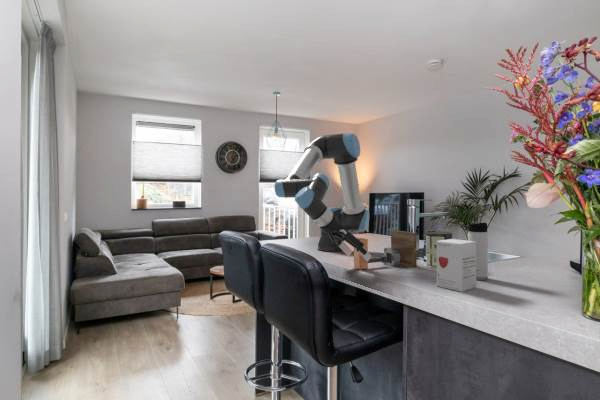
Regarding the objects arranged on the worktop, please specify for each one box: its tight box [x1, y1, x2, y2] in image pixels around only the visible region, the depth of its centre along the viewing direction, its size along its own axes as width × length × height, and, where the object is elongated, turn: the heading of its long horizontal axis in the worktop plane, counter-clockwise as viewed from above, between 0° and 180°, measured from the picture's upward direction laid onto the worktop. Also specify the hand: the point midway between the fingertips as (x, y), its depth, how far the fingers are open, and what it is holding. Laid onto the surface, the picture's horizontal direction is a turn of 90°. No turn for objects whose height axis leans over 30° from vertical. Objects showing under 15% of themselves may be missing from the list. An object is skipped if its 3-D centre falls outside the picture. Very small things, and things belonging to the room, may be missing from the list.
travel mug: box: [467, 222, 489, 281], centre depth 127 cm, size 6×7×20 cm
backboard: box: [390, 229, 418, 269], centre depth 155 cm, size 5×14×14 cm, turn 24°
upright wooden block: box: [353, 237, 386, 271], centre depth 148 cm, size 14×4×12 cm, turn 114°
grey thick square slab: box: [383, 247, 401, 268], centre depth 153 cm, size 3×7×7 cm, turn 24°
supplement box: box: [436, 238, 477, 292], centre depth 116 cm, size 9×9×15 cm
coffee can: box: [425, 231, 453, 269], centre depth 149 cm, size 10×10×14 cm
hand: (359, 256), depth 146 cm, fingers open, 13 cm apart
